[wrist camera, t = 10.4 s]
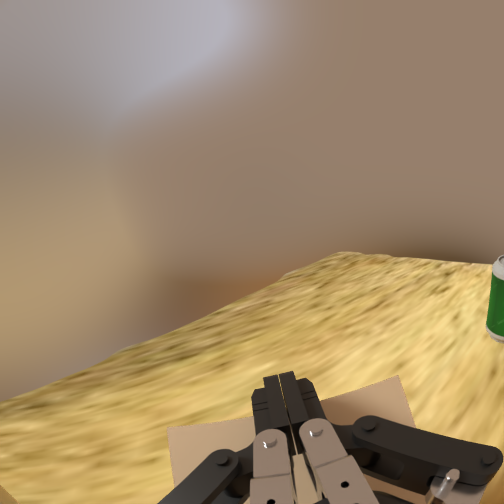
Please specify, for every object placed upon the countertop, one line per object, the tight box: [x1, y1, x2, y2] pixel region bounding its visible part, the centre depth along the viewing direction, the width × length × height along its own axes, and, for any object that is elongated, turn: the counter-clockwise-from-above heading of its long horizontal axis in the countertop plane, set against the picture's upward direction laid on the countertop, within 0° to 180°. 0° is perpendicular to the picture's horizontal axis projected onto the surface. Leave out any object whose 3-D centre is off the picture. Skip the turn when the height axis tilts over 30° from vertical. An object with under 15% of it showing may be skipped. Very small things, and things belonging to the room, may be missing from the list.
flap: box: [167, 375, 426, 504], centre depth 11 cm, size 13×9×1 cm
